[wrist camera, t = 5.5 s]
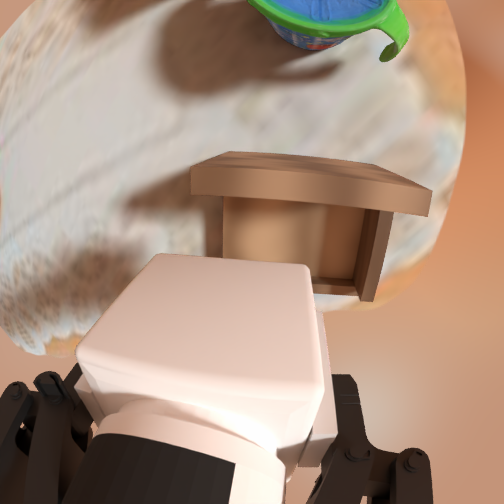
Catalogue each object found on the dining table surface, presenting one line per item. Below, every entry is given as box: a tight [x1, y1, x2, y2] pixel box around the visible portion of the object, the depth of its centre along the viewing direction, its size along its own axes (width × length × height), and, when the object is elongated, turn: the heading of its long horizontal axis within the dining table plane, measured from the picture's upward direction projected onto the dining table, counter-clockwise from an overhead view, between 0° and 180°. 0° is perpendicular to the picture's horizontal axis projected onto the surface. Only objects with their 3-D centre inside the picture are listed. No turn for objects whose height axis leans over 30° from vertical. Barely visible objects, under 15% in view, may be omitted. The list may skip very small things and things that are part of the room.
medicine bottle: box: [62, 253, 325, 504], centre depth 9 cm, size 7×7×12 cm
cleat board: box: [191, 151, 432, 302], centre depth 23 cm, size 14×12×12 cm
